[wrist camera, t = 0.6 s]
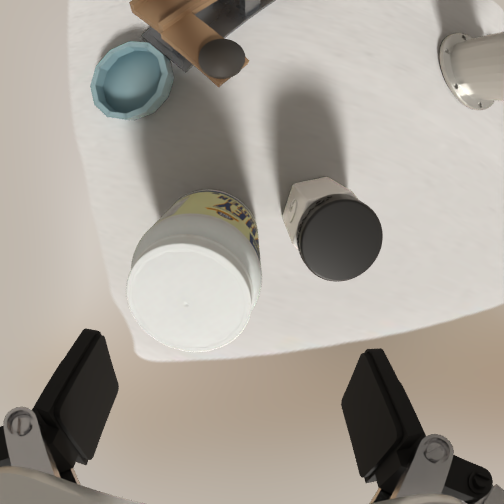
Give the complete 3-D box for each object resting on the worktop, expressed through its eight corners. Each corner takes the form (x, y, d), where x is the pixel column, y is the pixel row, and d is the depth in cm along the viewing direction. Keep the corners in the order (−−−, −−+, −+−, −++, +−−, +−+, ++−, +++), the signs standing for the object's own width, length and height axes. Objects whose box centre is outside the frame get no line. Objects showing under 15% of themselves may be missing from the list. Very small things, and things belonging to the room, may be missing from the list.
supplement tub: (276, 239, 39) (295, 314, 23) (207, 291, 42) (188, 378, 26) (215, 166, 35) (189, 195, 19) (147, 227, 38) (89, 291, 22)
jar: (296, 166, 35) (319, 182, 24) (355, 186, 36) (397, 211, 25) (274, 232, 38) (286, 275, 27) (331, 248, 39) (361, 293, 28)
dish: (138, 34, 28) (130, 28, 25) (189, 76, 30) (183, 72, 28) (89, 90, 30) (78, 89, 27) (135, 134, 33) (126, 134, 30)
